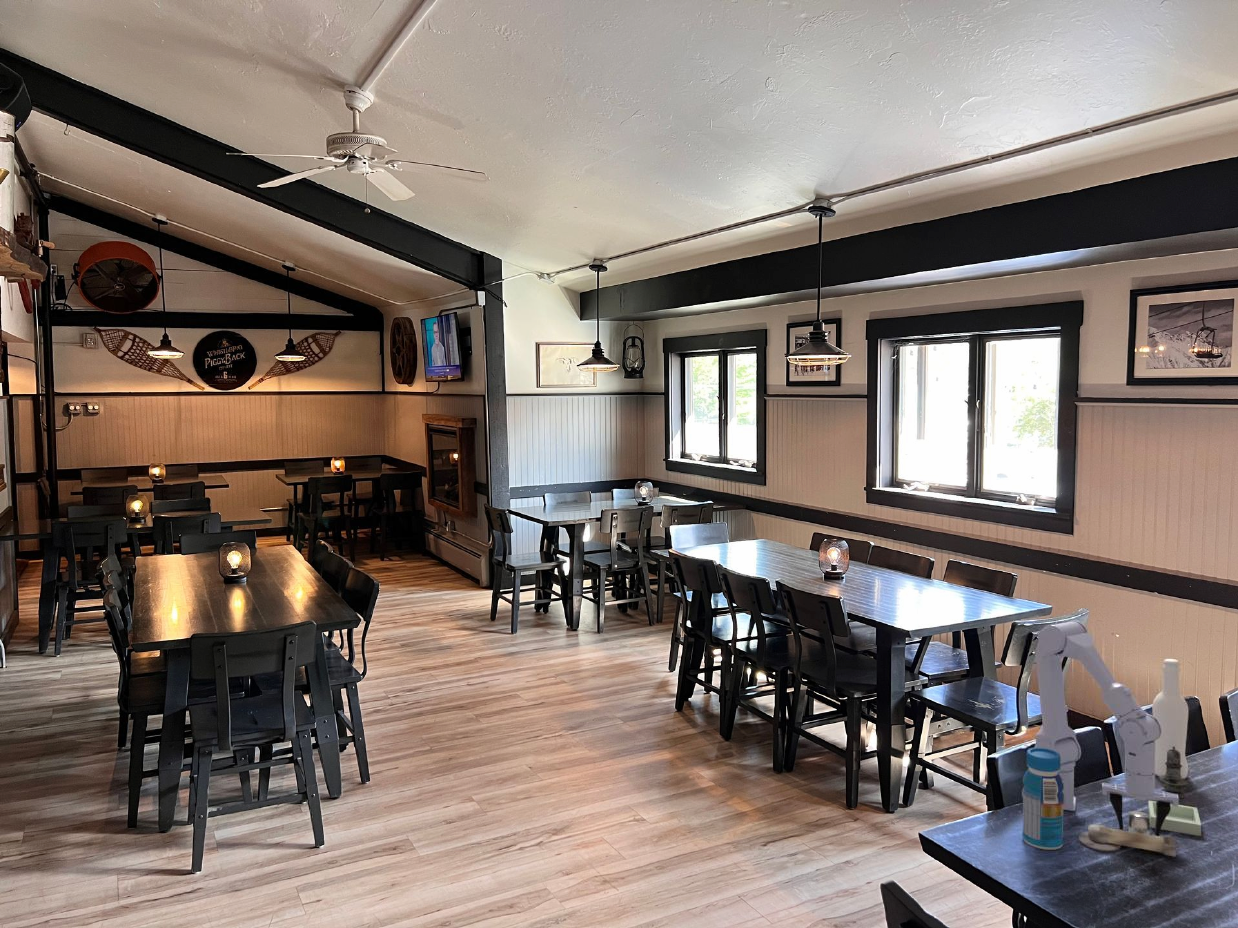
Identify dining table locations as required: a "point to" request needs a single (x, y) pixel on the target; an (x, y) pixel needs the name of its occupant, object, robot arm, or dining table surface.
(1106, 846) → the crank base
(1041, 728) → the robot arm
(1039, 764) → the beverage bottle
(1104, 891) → the dining table surface
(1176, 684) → the bottle
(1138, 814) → the piston stop
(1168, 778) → the dark grey tiered tower
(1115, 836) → the beige flat bar
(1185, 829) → the tray
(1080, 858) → the dining table surface
